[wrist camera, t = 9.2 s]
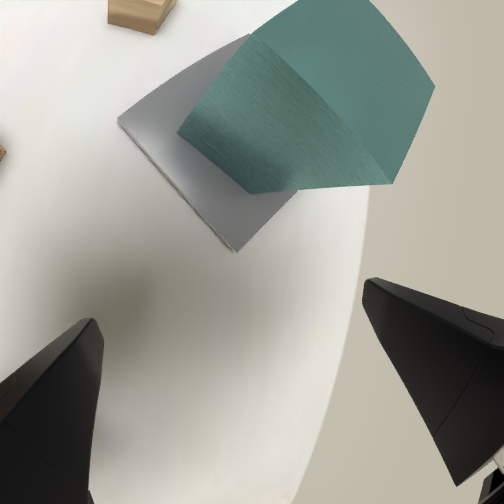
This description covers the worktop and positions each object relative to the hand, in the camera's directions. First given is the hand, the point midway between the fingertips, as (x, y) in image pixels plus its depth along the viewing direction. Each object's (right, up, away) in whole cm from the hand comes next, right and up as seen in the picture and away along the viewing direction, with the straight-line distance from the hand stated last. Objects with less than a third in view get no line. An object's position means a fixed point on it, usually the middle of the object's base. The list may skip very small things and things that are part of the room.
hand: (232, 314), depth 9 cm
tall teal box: (0, +10, +10) cm, 14 cm away
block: (-8, +20, +6) cm, 23 cm away
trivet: (0, +10, +11) cm, 15 cm away
